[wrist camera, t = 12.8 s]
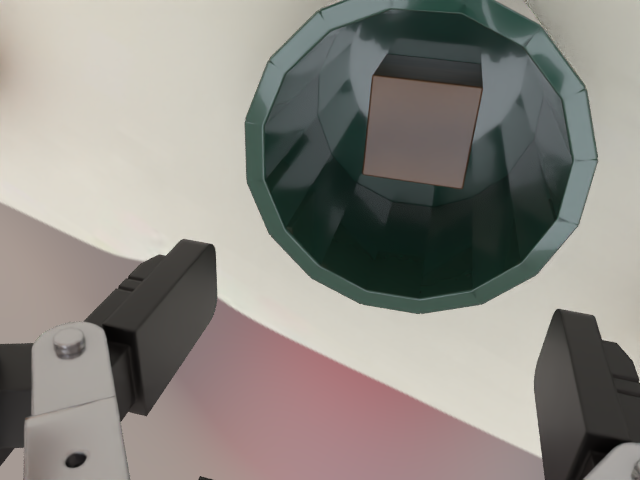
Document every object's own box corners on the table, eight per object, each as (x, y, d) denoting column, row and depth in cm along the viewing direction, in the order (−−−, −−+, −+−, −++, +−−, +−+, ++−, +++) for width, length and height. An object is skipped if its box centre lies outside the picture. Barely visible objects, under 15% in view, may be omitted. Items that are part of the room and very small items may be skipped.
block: (386, 53, 28) (372, 74, 24) (481, 63, 27) (483, 87, 23) (376, 142, 30) (361, 175, 26) (464, 154, 29) (462, 190, 25)
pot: (372, -86, 25) (326, -92, 17) (617, 46, 26) (684, 102, 18) (271, 147, 32) (204, 222, 24) (467, 251, 32) (465, 359, 24)
